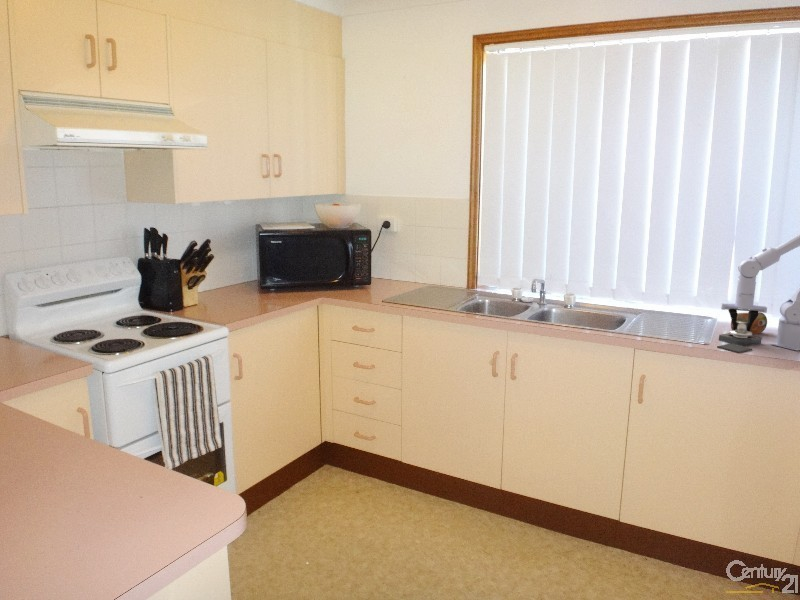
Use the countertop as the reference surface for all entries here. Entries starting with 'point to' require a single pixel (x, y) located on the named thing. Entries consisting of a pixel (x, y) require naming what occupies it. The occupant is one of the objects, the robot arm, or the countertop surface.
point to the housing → (740, 340)
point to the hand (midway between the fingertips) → (741, 330)
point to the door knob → (741, 330)
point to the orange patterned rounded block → (757, 325)
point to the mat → (734, 348)
